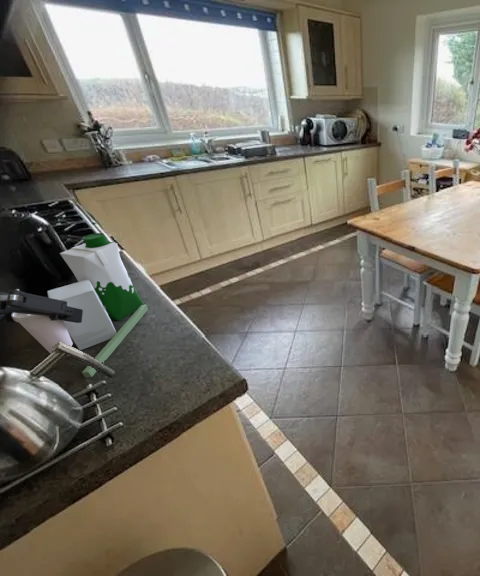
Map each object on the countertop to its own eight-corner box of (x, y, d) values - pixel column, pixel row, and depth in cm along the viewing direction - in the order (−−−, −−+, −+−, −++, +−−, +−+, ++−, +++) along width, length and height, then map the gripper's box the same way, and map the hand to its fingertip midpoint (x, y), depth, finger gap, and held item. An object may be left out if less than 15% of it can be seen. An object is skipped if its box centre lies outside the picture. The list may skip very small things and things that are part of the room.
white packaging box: (119, 336, 76) (93, 290, 70) (79, 351, 72) (47, 304, 65) (113, 322, 81) (89, 278, 74) (75, 336, 76) (45, 290, 70)
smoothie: (35, 350, 66) (-9, 291, 58) (74, 333, 70) (38, 276, 63) (46, 362, 63) (0, 301, 55) (86, 344, 67) (49, 285, 60)
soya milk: (150, 304, 88) (117, 234, 77) (118, 324, 80) (77, 249, 70) (125, 299, 90) (90, 230, 79) (91, 318, 82) (48, 245, 72)
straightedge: (85, 378, 65) (81, 372, 64) (143, 309, 86) (141, 304, 85) (91, 377, 65) (88, 371, 65) (148, 309, 86) (146, 304, 85)
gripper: (-177, 325, 43) (5, 341, 65) (-11, 312, 45) (110, 331, 67) (-161, 271, 45) (11, 304, 67) (-1, 260, 47) (113, 296, 69)
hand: (61, 317), depth 67 cm, fingers closed on smoothie, 6 cm apart
